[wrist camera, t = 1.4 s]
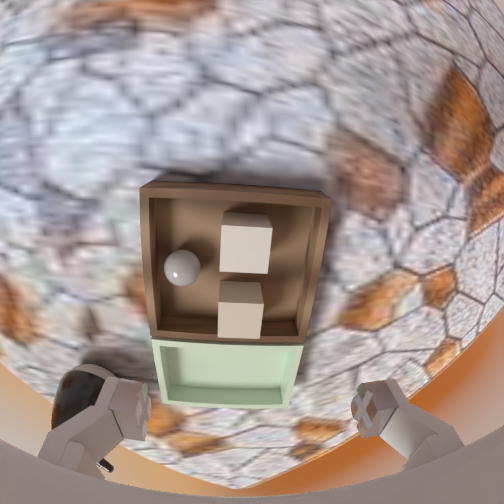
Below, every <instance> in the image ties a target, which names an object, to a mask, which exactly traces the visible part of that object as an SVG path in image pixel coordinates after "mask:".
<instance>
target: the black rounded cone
mask: <svg viewBox="0 0 504 504" xmlns="http://www.w3.org/2000/svg"><path fill="white" fill-rule="evenodd" d="M109 376H111V377H116V376H115V375H114V374H113V373H111V372H110V371H108V370H107V369H105V368H103V367H101V366H98V365H93V364H82V365H79V366H76V367H75V368H73V369H72V370H70V371H69V372H67V373H65V374H64V375H63V377H62V379H61V381H60V383H59V386H58V389H57V392H56V395H55V399H54V403H53V409H52V420H51V429H52V430H53V429H55V428H56V427H58V426H60V425H61V424H63V423H64V422H66V421H67V420H69V419H71V418H72V417H74V416H75V415H77V414H79V413H80V412H82V411H83V410H85V409H86V408H88V407H89V406H95V404H96V401H97V399H98V396H99V394H100V392H101V389H102V387H103V385H104V383H105V380H106V379H107V378H108V377H109ZM116 378H117V377H116ZM97 465H98V466H100V467H101V468H103V469H105V470H107V471H108V472H112V471H113V470H114V467H113V466H112V465H111V464H110V463H109V462H107V461H106V460H105V459H104V458H103V459H102V460H101V461H100V462H98V463H97Z"/></svg>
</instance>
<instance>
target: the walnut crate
mask: <svg viewBox="0 0 504 504" xmlns="http://www.w3.org/2000/svg"><path fill="white" fill-rule="evenodd" d="M331 203H332V199H331V198H329V197H328V196H326V195H325V194H324V193H322V192H321V191H312V190H302V189H292V188H280V187H268V186H255V185H240V184H223V183H201V182H169V181H150V182H149V183H147V184H145V185H144V186H142V187H140V225H141V245H142V260H143V273H144V284H145V294H146V303H147V312H148V320H149V328H150V335H151V336H160V337H171V338H183V339H197V340H214V341H237V342H305V338H306V334H307V330H308V325H309V321H310V316H311V312H312V307H313V303H314V298H315V293H316V288H317V283H318V278H319V273H320V268H321V263H322V257H323V252H324V246H325V240H326V234H327V228H328V222H329V216H330V210H331ZM223 212H230V213H247V214H263V215H267V216H268V218H269V221H270V223H271V226H272V228H273V229H272V238H271V247H270V256H269V265H268V273H267V274H262V273H240V272H220V248H221V227H222V218H223ZM176 250H188V251H190V252H192V253H194V254H195V255H196V256H197V258H198V260H199V262H200V266H201V270H200V274H199V277H198V278H197V280H196V281H195V282H194V283H192V284H191V285H189V286H184V287H181V286H176V285H174V284H172V283H171V282H170V281H169V280H168V279H167V277H166V275H165V272H164V264H165V261H166V259H167V257H168V256H169V255H170V254H171V253H172V252H174V251H176ZM220 281H236V282H258V283H260V285H261V290H262V296H263V302H264V307H263V316H262V324H261V332H260V339H247V338H221V337H218V302H219V288H220Z"/></svg>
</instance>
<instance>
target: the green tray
mask: <svg viewBox="0 0 504 504" xmlns="http://www.w3.org/2000/svg"><path fill="white" fill-rule="evenodd" d="M151 342H152V348H153V354H154V360H155V366H156V372H157V377H158V383H159V388H160V393H161V398H162V402H163V403H166V404H175V405H185V406H198V407H215V408H288V404H289V401H290V397H291V393H292V390H293V386H294V382H295V378H296V375H297V371H298V367H299V363H300V359H301V355H302V351H303V347H304V345H303V342H237V341H214V340H197V339H183V338H171V337H160V336H152V338H151Z"/></svg>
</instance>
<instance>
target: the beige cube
mask: <svg viewBox="0 0 504 504" xmlns="http://www.w3.org/2000/svg"><path fill="white" fill-rule="evenodd" d="M263 307H264V302H263V296H262V290H261V285H260V283H258V282H236V281H220V288H219V302H218V337H221V338H247V339H260V332H261V324H262V316H263Z"/></svg>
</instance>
